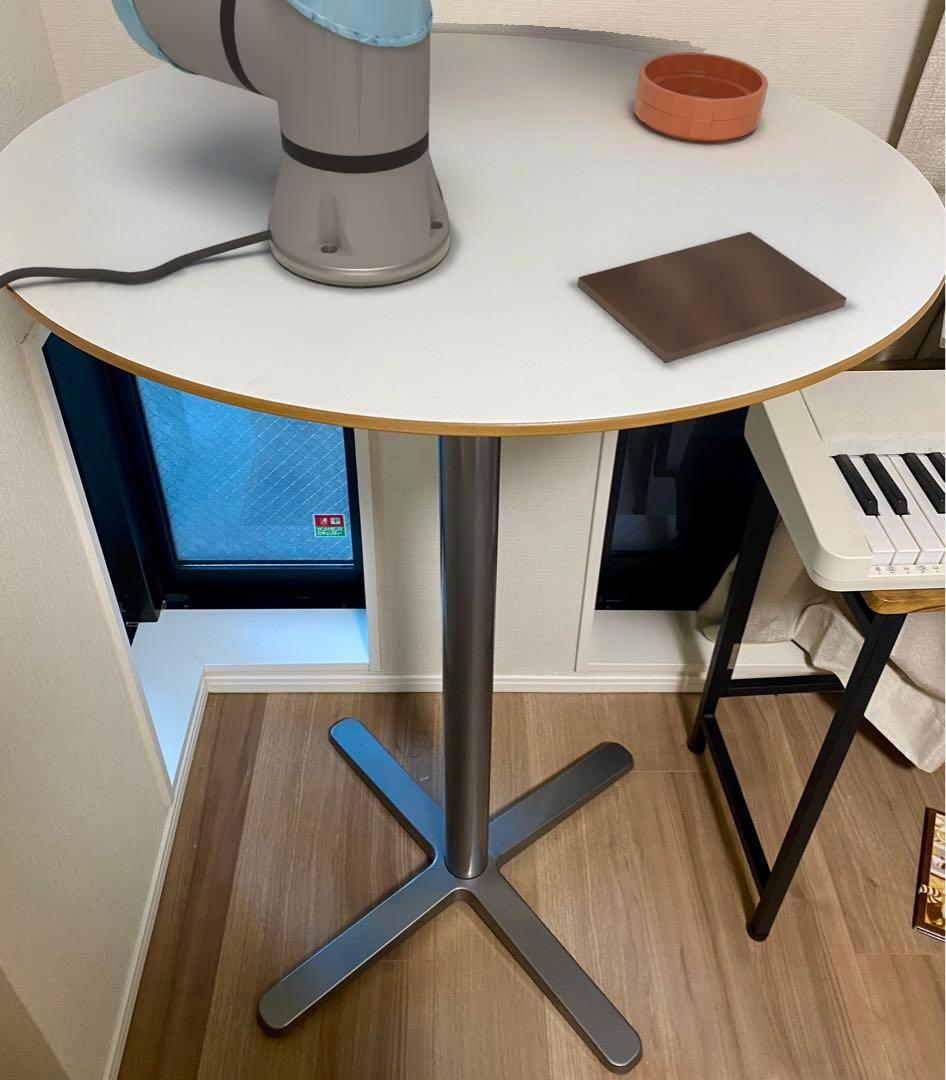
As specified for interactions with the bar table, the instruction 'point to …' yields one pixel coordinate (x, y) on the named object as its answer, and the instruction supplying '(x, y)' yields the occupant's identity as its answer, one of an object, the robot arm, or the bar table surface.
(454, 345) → the bar table surface
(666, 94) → the bowl
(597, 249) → the bar table surface
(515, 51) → the bar table surface
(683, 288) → the mat
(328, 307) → the bar table surface
